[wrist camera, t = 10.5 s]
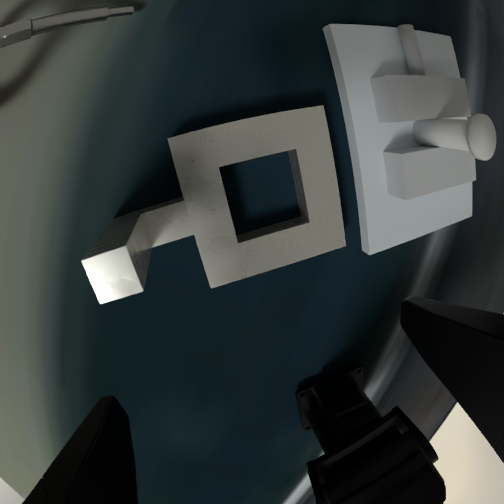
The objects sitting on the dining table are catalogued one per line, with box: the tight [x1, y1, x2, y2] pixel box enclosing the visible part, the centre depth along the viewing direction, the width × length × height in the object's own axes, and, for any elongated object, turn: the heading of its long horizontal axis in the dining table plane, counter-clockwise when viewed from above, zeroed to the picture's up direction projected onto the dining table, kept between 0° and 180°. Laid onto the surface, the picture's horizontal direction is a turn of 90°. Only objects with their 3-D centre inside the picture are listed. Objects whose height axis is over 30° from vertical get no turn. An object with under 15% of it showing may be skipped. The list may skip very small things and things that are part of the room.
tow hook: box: [0, 6, 134, 48], centre depth 12 cm, size 7×10×7 cm
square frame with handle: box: [81, 105, 346, 304], centre depth 15 cm, size 14×9×7 cm, turn 103°
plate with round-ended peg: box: [323, 24, 496, 255], centre depth 17 cm, size 16×12×7 cm
